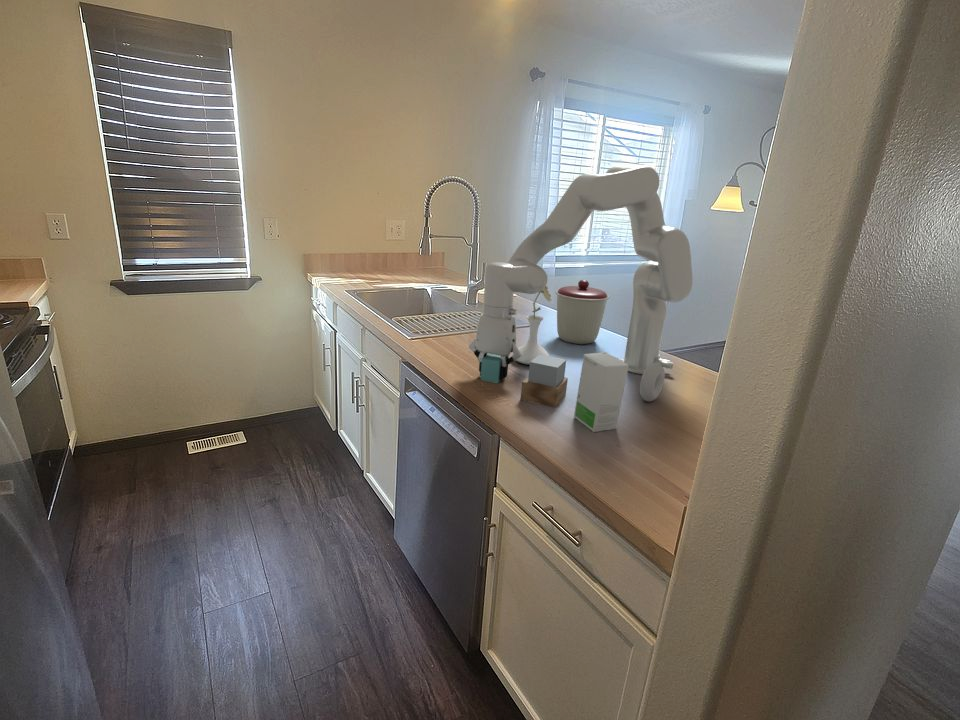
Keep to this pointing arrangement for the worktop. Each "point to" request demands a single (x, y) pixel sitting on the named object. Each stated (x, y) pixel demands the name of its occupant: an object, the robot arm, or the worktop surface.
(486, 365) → the teal block
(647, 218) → the robot arm
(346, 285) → the worktop surface
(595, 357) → the skincare box
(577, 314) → the canister
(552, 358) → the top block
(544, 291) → the flower in vase
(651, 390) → the donut
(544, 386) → the base block
